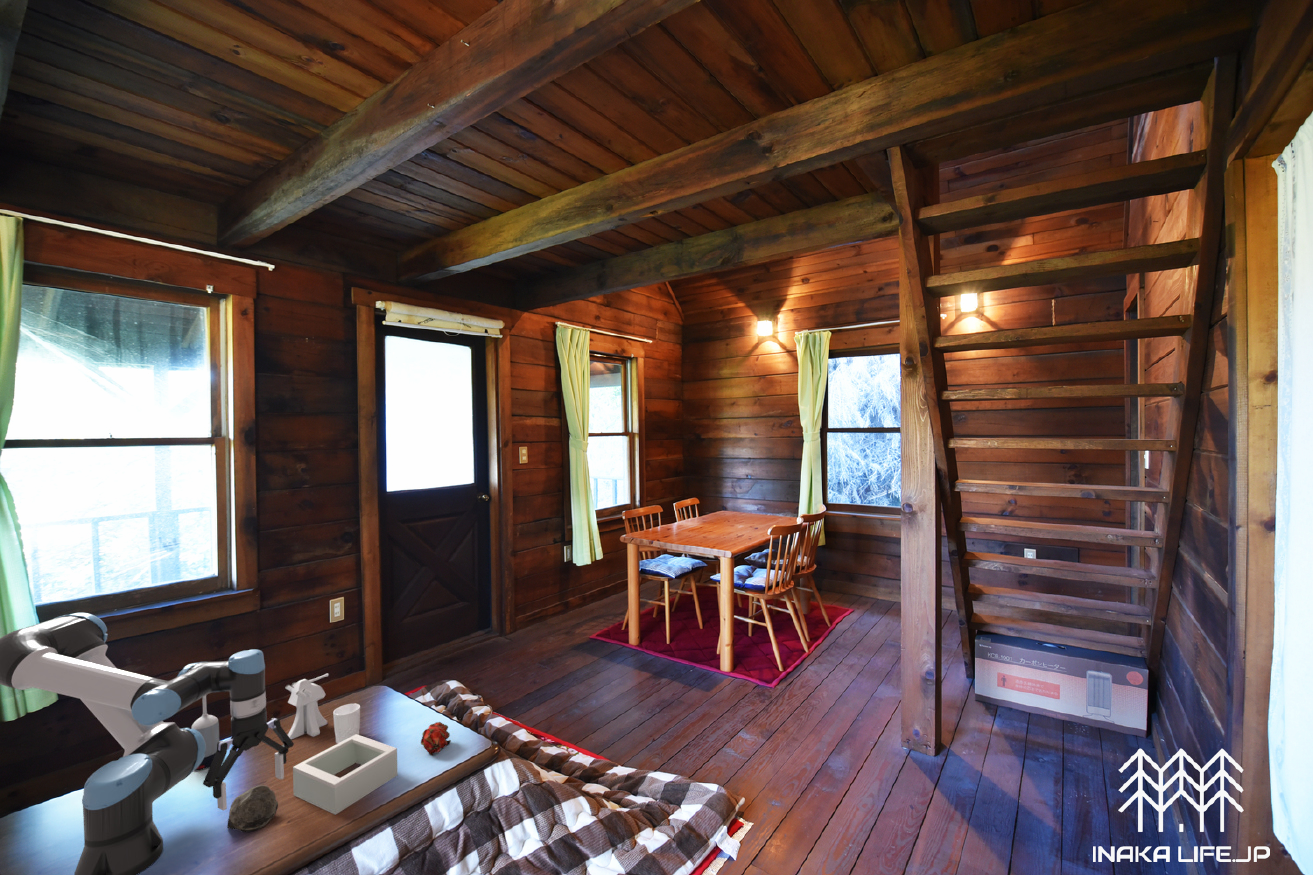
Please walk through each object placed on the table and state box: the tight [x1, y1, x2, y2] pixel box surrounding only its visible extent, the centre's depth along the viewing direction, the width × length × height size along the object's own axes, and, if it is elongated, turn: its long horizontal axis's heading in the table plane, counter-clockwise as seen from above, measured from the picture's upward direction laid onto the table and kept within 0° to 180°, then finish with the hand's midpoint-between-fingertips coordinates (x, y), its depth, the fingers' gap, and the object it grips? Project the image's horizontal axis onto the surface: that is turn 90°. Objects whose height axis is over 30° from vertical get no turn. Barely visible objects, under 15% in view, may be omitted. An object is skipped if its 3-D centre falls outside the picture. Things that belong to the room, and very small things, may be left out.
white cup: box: [332, 703, 361, 744], centre depth 185 cm, size 8×8×10 cm
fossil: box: [226, 784, 279, 833], centre depth 145 cm, size 11×9×10 cm
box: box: [292, 734, 399, 815], centre depth 160 cm, size 19×19×8 cm
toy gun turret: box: [285, 673, 330, 740], centre depth 192 cm, size 12×13×18 cm
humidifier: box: [190, 695, 220, 772], centre depth 173 cm, size 8×8×25 cm
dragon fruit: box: [420, 721, 452, 756], centre depth 177 cm, size 8×8×12 cm
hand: (252, 792), depth 145 cm, fingers open, 13 cm apart
